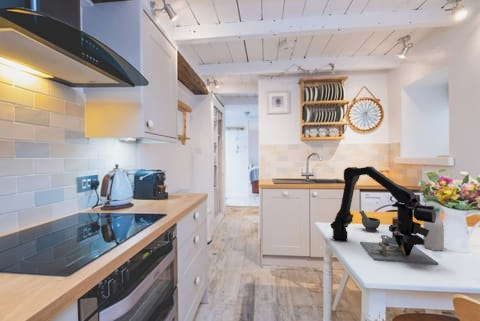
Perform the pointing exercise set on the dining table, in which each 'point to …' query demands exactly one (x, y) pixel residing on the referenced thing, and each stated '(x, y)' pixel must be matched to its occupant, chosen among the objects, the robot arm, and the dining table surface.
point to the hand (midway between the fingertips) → (404, 253)
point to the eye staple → (383, 249)
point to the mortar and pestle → (369, 222)
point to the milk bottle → (435, 233)
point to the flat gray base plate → (399, 255)
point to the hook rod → (388, 249)
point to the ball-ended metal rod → (388, 240)
